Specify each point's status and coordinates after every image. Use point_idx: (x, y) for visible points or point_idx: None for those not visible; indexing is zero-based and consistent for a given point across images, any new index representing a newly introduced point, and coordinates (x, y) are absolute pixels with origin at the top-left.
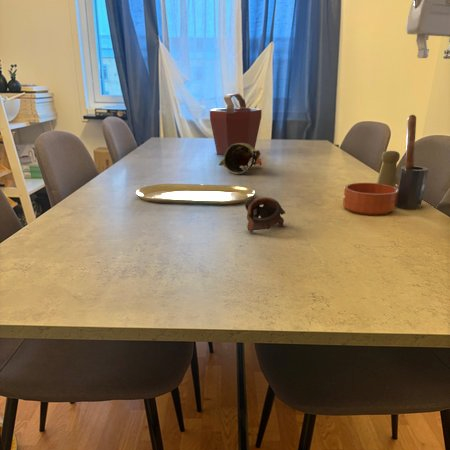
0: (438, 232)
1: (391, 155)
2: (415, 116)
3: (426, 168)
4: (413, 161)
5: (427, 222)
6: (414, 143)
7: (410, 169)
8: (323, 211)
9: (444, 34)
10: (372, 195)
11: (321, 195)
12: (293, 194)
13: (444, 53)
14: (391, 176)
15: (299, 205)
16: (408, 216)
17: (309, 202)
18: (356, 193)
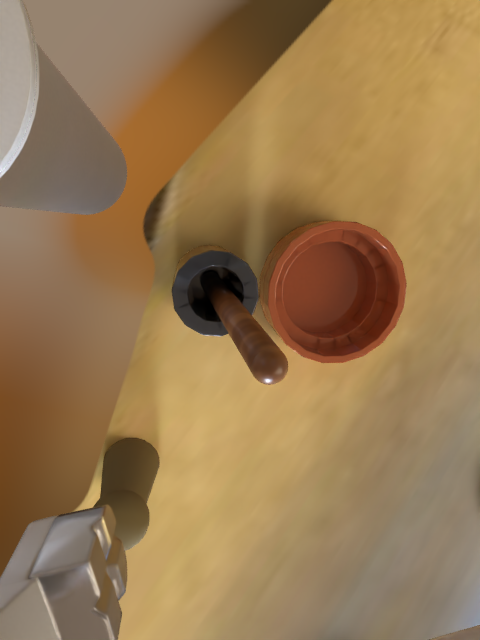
0: (299, 57)
1: (134, 505)
2: (265, 357)
3: (182, 275)
4: (226, 298)
5: (265, 134)
6: (239, 316)
7: (244, 279)
8: (425, 304)
9: (472, 630)
10: (379, 234)
11: (345, 433)
12: (400, 460)
13: (119, 609)
14: (131, 461)
15: (443, 367)
16: (272, 195)
17: (408, 383)
18: (402, 267)
